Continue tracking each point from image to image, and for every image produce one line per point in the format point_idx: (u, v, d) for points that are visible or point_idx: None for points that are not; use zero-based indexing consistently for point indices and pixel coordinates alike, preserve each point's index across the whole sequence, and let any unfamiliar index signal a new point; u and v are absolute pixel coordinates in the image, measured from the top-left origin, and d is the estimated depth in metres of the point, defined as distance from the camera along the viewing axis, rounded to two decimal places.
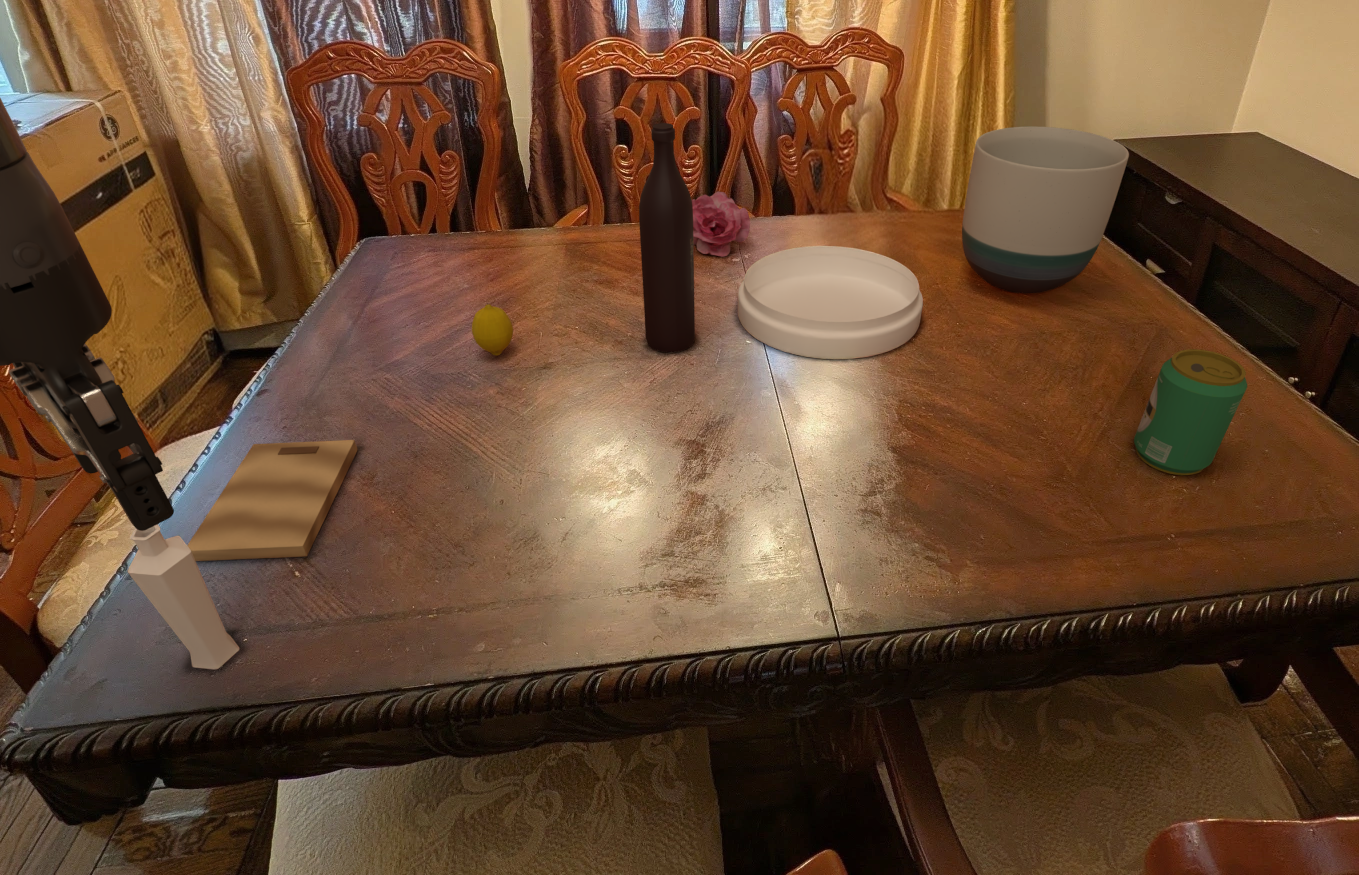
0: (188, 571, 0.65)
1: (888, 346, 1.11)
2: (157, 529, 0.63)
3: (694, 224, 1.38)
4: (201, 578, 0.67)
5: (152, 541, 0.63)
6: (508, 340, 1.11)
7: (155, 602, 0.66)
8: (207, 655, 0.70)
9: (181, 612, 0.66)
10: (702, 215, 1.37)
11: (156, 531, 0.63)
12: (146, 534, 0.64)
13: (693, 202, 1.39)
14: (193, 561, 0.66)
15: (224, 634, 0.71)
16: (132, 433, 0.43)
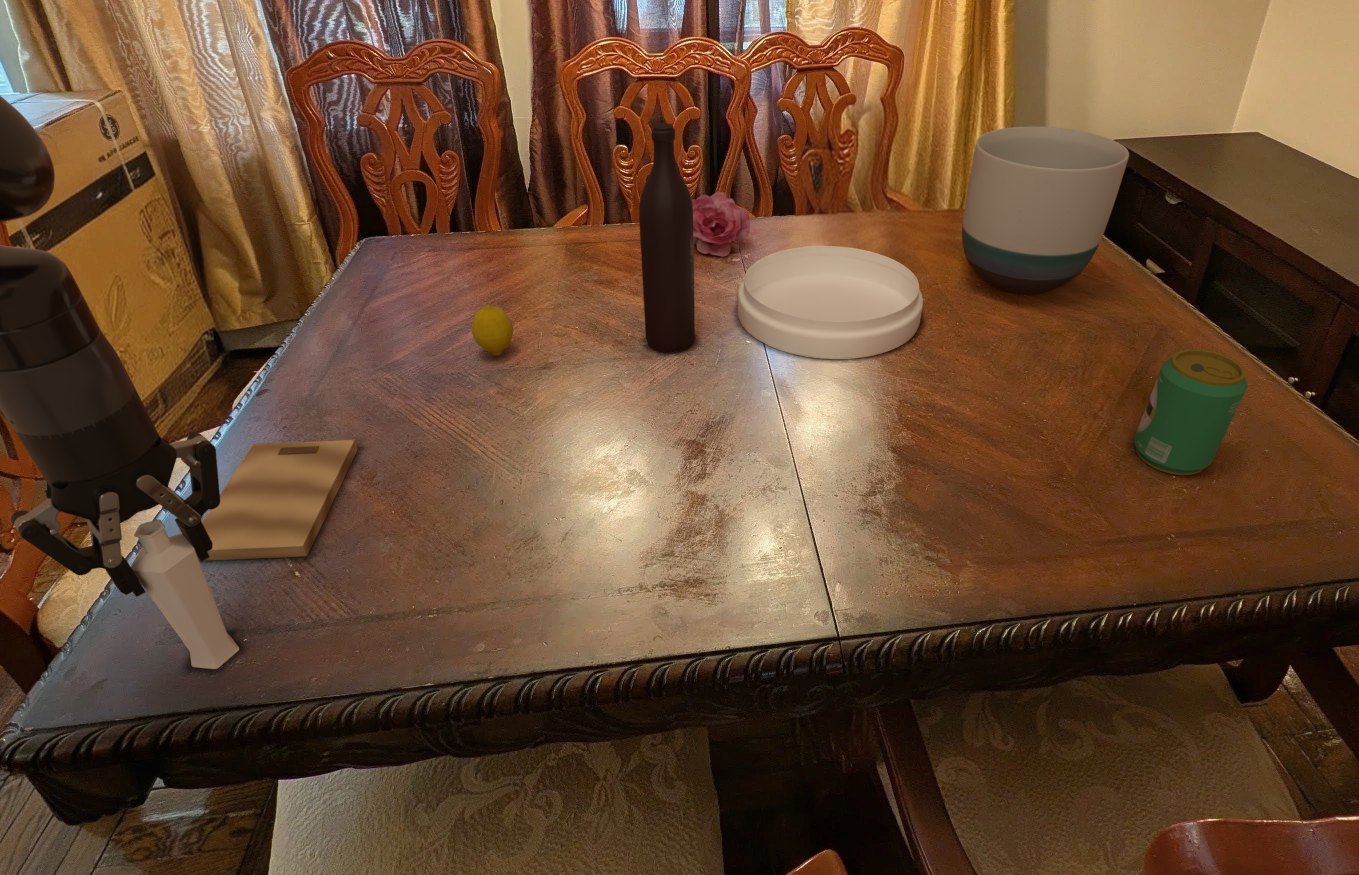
0: (191, 569, 0.66)
1: (888, 346, 1.11)
2: (162, 527, 0.64)
3: (694, 224, 1.38)
4: (204, 577, 0.67)
5: (156, 538, 0.63)
6: (508, 340, 1.11)
7: (157, 600, 0.66)
8: (207, 654, 0.70)
9: (183, 610, 0.66)
10: (702, 215, 1.37)
11: (161, 529, 0.63)
12: (150, 532, 0.64)
13: (693, 202, 1.39)
14: (196, 560, 0.66)
15: (224, 634, 0.71)
16: None
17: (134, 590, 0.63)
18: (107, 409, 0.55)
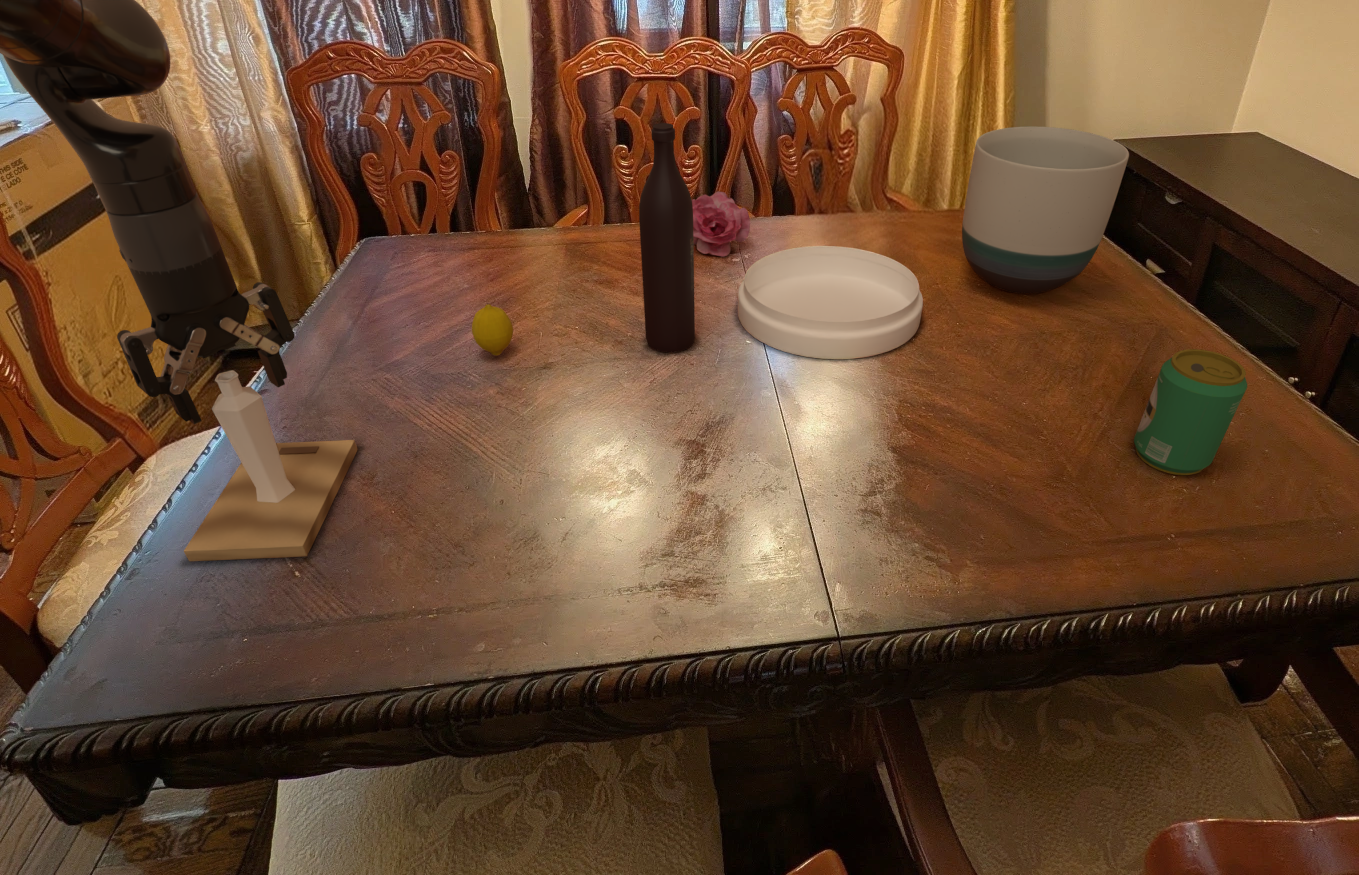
0: (258, 412, 0.81)
1: (888, 346, 1.11)
2: (236, 375, 0.79)
3: (694, 224, 1.38)
4: (268, 421, 0.83)
5: (232, 384, 0.79)
6: (508, 340, 1.11)
7: (232, 438, 0.81)
8: (270, 490, 0.86)
9: (252, 447, 0.82)
10: (702, 215, 1.37)
11: (235, 376, 0.79)
12: None
13: (693, 202, 1.39)
14: (263, 405, 0.81)
15: (283, 474, 0.87)
16: None
17: (192, 417, 0.77)
18: (202, 254, 0.70)
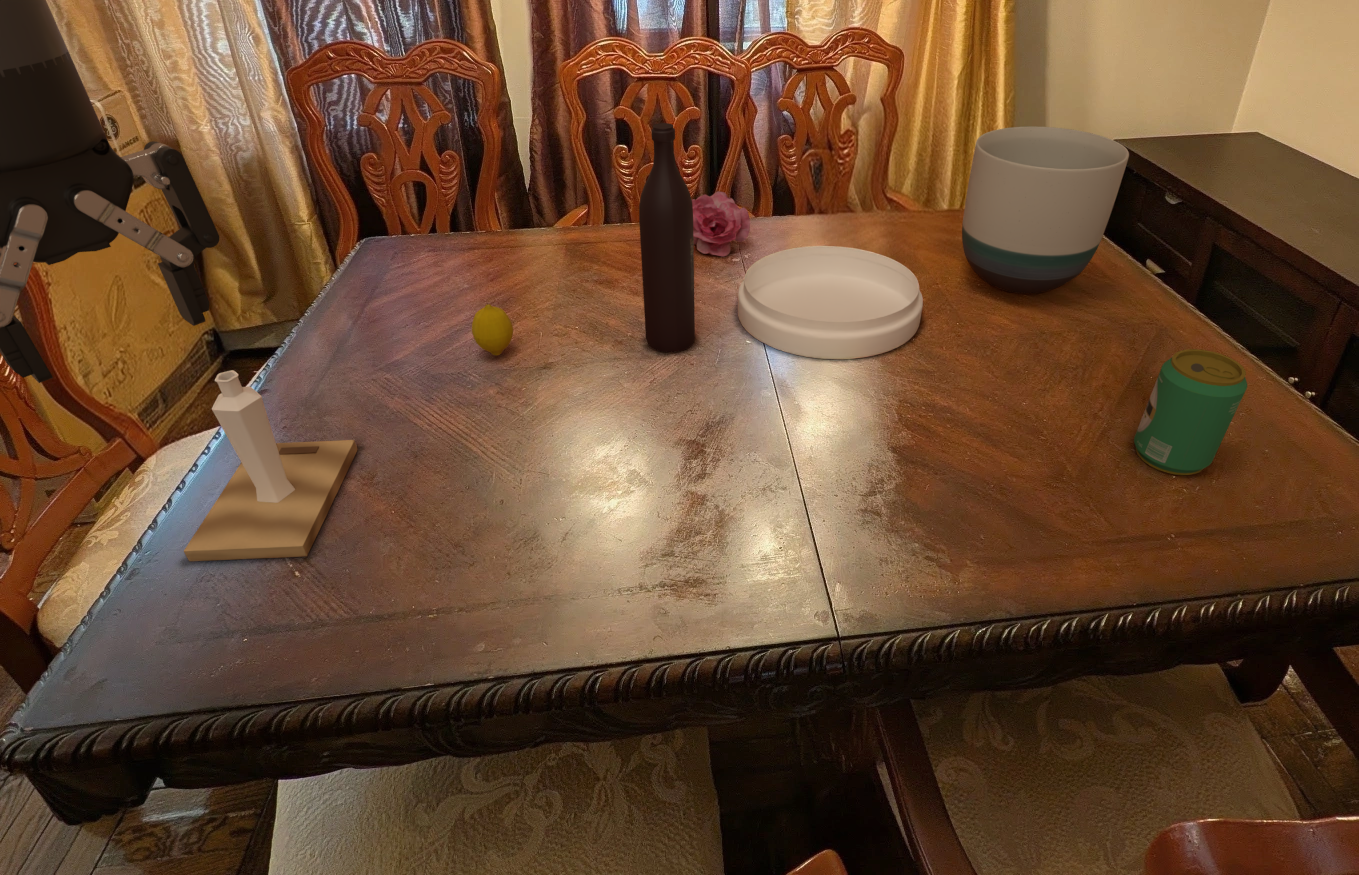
0: (258, 412, 0.81)
1: (888, 346, 1.11)
2: (236, 374, 0.79)
3: (694, 224, 1.38)
4: (268, 421, 0.83)
5: (232, 384, 0.79)
6: (508, 340, 1.11)
7: (232, 438, 0.81)
8: (270, 490, 0.86)
9: (252, 447, 0.82)
10: (702, 215, 1.37)
11: (235, 376, 0.79)
12: None
13: (693, 202, 1.39)
14: (262, 405, 0.81)
15: (283, 474, 0.87)
16: None
17: (34, 370, 0.44)
18: (22, 54, 0.37)
